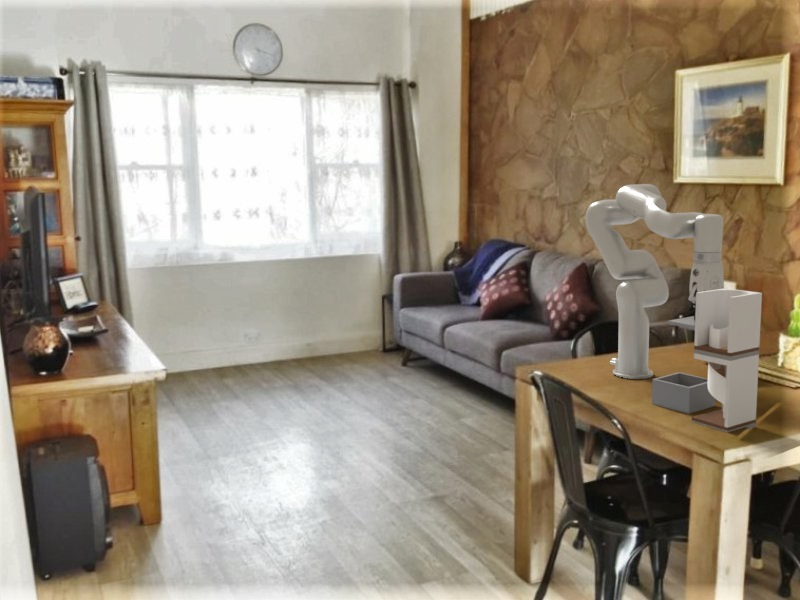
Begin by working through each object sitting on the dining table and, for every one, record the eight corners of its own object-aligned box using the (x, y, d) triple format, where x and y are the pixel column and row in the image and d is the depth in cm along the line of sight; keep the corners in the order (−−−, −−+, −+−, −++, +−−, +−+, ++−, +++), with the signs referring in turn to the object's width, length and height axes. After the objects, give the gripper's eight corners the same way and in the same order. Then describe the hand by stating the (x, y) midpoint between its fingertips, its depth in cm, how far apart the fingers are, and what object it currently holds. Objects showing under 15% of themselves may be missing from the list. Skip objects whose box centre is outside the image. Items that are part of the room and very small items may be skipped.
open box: (651, 406, 217) (652, 379, 215) (678, 398, 223) (679, 372, 222) (688, 416, 207) (689, 388, 206) (715, 408, 213) (716, 380, 212)
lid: (667, 327, 224) (669, 300, 223) (698, 321, 231) (699, 295, 230) (709, 335, 212) (711, 307, 211) (740, 329, 220) (741, 301, 218)
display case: (719, 416, 206) (724, 288, 201) (755, 426, 197) (762, 292, 192) (691, 424, 200) (696, 292, 195) (727, 435, 191) (733, 297, 186)
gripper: (700, 261, 211) (696, 326, 214) (736, 256, 220) (733, 319, 223) (677, 258, 217) (674, 322, 220) (713, 254, 226) (710, 315, 229)
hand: (704, 319), depth 222 cm, fingers closed on lid, 3 cm apart
